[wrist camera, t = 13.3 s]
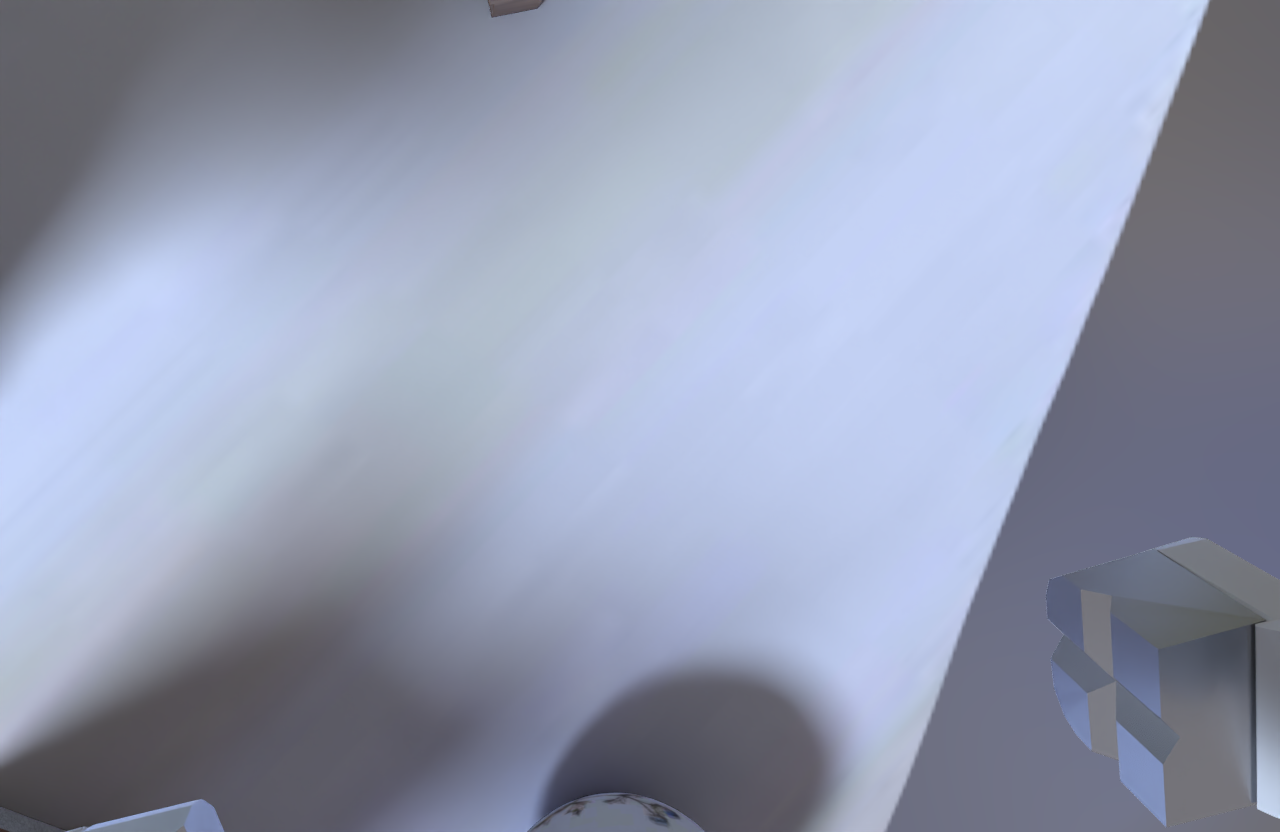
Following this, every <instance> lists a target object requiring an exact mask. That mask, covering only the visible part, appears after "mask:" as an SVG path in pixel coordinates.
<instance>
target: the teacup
mask: <svg viewBox="0 0 1280 832" xmlns="http://www.w3.org/2000/svg"><path fill="white" fill-rule="evenodd" d="M528 832H705V831H704V830H703V829H702V828H701V827H700V826H699V825H697V824H696V823H695V822H694V821H693V820H691V819H690V818H688V817H687V816H686V815H684V814H683V813H681V812H680V811H678V810H676V809H674V808H672V807H670V806H668V805H666V804H664V803H662V802H659V801H657V800H654V799H651V798H648V797H644V796H640V795H636V794H630V793H602V794H595V795H590V796H586V797H582V798H579V799H576V800H574V801H571V802H569V803H567V804H564V805H562V806H561V807H559V808H557V809H555V810H554V811H552V812H551V813H549V814H548V815H546V816H545V817H544V818H542V819H541V820H540V821H538V822H537V823H536V824H535V825H534V826H533V827H532V828H531V829H530V830H529V831H528Z"/></svg>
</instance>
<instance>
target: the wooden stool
mask: <svg viewBox="0 0 1280 832" xmlns="http://www.w3.org/2000/svg"><path fill="white" fill-rule="evenodd" d="M541 2H542V0H488V3H489V7H490V12H491V16H492V17H497V16H502V15H507V14H512V13H517V12H522V11H527V10H532V9H537V8H538V7H539V5H540V4H541Z"/></svg>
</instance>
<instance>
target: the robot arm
mask: <svg viewBox="0 0 1280 832" xmlns="http://www.w3.org/2000/svg"><path fill="white" fill-rule="evenodd" d="M1046 606H1047V619H1048V620H1050V622H1051V623H1053V624H1054V625H1055V626H1056V627H1057V628H1058V629H1059V630H1060V631H1061V632H1062V633H1063V634H1064V635H1063V637H1062V638H1061V640H1060V642H1059V644H1058V646H1057V648H1056V650H1055V651H1054V653H1053V655H1052V657H1051V666H1052V673H1053V682H1054V689H1055V692H1056V694H1057V697H1058V700H1059V702H1060V705H1061V708H1062V711H1063V713H1064V716H1065V718H1066V719H1067V721H1068V722H1069V724H1070V726H1071V727H1072V729H1073V730H1074V732H1075V733H1076V735H1077V736H1078V737H1079V738H1080V739H1081V740H1082V741H1083V742H1084V743H1085V744H1086V746H1087V747H1088V748H1089V749H1090V750H1091V751H1092V752H1095V753H1098V754H1101V755H1104V756H1107V757H1110V758H1113V759H1115V760H1118V761H1119V769H1120V781H1121V782H1122V783H1123V784H1124V785H1125V786H1126V787H1127V788H1128V789H1129V790H1130V791H1131V792H1132V793H1133V794H1134V795H1135V796H1136V797H1137V798H1138V799H1139V800H1140V801H1141V802H1142V803H1143V804H1144V805H1145V806H1146V807H1147V808H1148V809H1149V810H1150V811H1151V812H1152V813H1153V814H1154V815H1155V816H1156V817H1157V818H1158V819H1159V821H1160V822H1161V823H1162V824H1163V825H1164V826H1165V827H1170V826H1174V825H1178V824H1182V823H1185V822H1190V821H1194V820H1198V819H1201V818H1205V817H1209V816H1213V815H1217V814H1221V813H1225V812H1229V811H1233V810H1237V809H1241V808H1245V807H1248V806H1252V805H1256V804H1257V809H1259V810H1261V811H1263V812H1265V813H1268V814H1270V815H1272V816H1274V817H1277V818H1279V819H1280V580H1278V579H1276V578H1275V577H1273V576H1271V575H1269V574H1268V573H1266V572H1264V571H1262V570H1261V569H1259V568H1257V567H1255V566H1253V565H1252V564H1250V563H1248V562H1247V561H1245V560H1243V559H1241V558H1240V557H1238V556H1236V555H1234V554H1233V553H1231V552H1229V551H1227V550H1226V549H1224V548H1222V547H1220V546H1219V545H1217V544H1215V543H1213V542H1212V541H1210V540H1208V539H1205V538H1195V537H1190V538H1187V539H1184V540H1180V541H1177V542H1174V543H1170V544H1167V545H1164V546H1161V547H1158V548H1154V549H1151V550H1148V551H1145V552H1142V553H1138V554H1135V555H1132V556H1128V557H1125V558H1121V559H1118V560H1114V561H1111V562H1107V563H1104V564H1100V565H1097V566H1093V567H1090V568H1086V569H1083V570H1079V571H1076V572H1073V573H1069V574H1066V575H1062V576H1059V577H1056V578H1052V579H1049V583H1048V588H1047V592H1046ZM66 832H224V829H223V827H222V825H221V822H220V820H219V818H218V816H217V813H216V811H215V809H214V806H212V805H211V804H209V803H207V802H206V801H204V800H203V799H199V800H195V801H190V802H186V803H182V804H178V805H174V806H170V807H165V808H161V809H157V810H153V811H149V812H145V813H141V814H136V815H132V816H128V817H124V818H120V819H116V820H111V821H107V822H103V823H99V824H95V825H92V826H91V827H85V826H84V827H80V828H77V829H73V830H70V831H66Z"/></svg>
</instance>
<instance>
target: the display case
mask: <svg viewBox="0 0 1280 832" xmlns="http://www.w3.org/2000/svg"><path fill="white" fill-rule="evenodd" d="M0 832H66V831H65V830H63V829H60V828H57V827H54V826H52V825H49V824H46V823H44V822H41V821H38V820H35V819H33V818H30V817H27V816H24V815H22V814H19V813H16V812H14V811H11V810H8V809H5V808H3V807H0Z"/></svg>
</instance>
